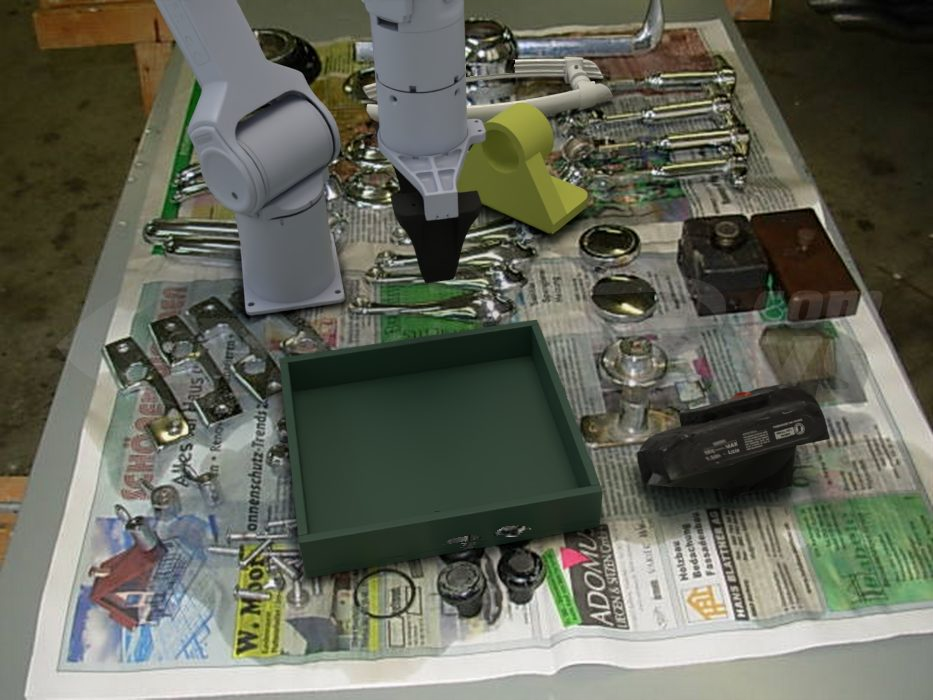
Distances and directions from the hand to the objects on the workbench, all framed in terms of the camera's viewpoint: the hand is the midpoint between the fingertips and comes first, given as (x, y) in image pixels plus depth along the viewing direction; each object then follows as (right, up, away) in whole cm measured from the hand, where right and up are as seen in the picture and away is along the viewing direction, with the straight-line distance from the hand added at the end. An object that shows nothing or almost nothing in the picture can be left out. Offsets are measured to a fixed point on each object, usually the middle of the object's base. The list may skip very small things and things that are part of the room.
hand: (430, 245), depth 79 cm
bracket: (+7, +5, +21) cm, 23 cm away
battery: (+20, -16, -3) cm, 26 cm away
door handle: (+5, +18, +35) cm, 40 cm away
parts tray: (0, -15, -1) cm, 15 cm away
